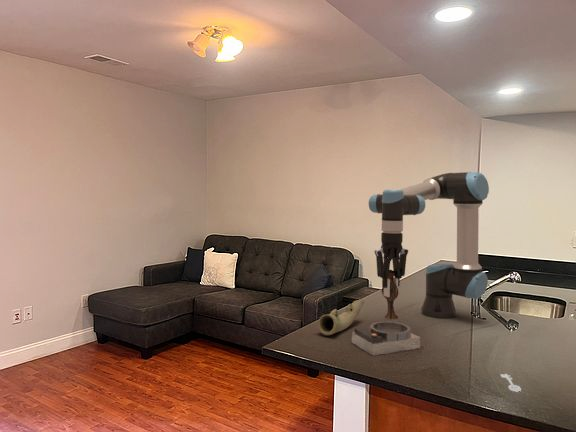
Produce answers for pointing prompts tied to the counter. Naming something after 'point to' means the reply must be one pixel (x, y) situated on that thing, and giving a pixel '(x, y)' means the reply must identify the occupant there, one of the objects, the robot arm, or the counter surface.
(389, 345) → the white flat device
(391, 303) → the figurine
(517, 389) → the key
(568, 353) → the counter surface
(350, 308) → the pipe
